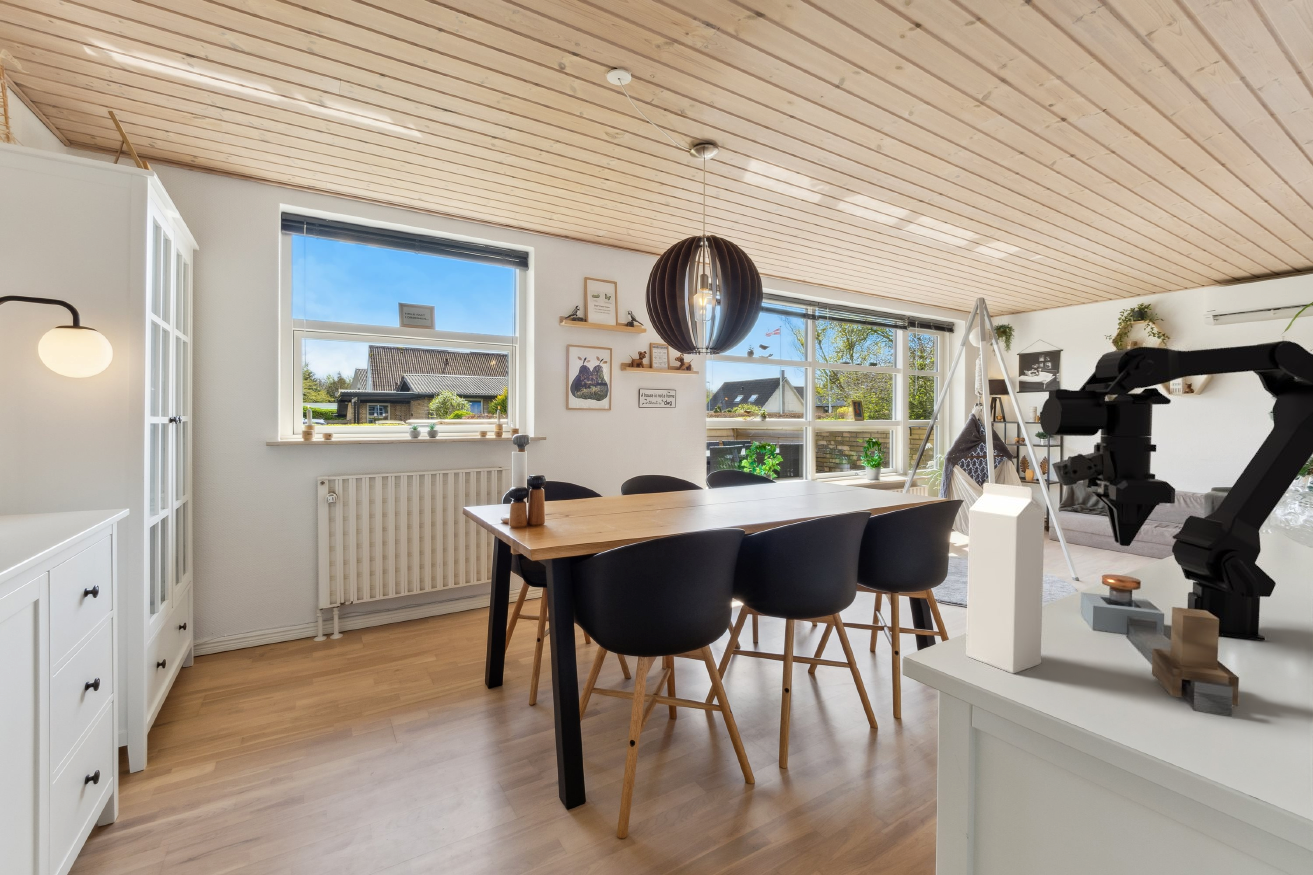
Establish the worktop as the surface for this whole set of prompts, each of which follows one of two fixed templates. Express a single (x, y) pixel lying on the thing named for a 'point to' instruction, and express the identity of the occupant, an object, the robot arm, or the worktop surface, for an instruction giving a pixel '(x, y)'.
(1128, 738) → the worktop surface
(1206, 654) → the carriage
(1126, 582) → the button
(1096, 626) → the box
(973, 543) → the milk
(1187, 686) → the rail
